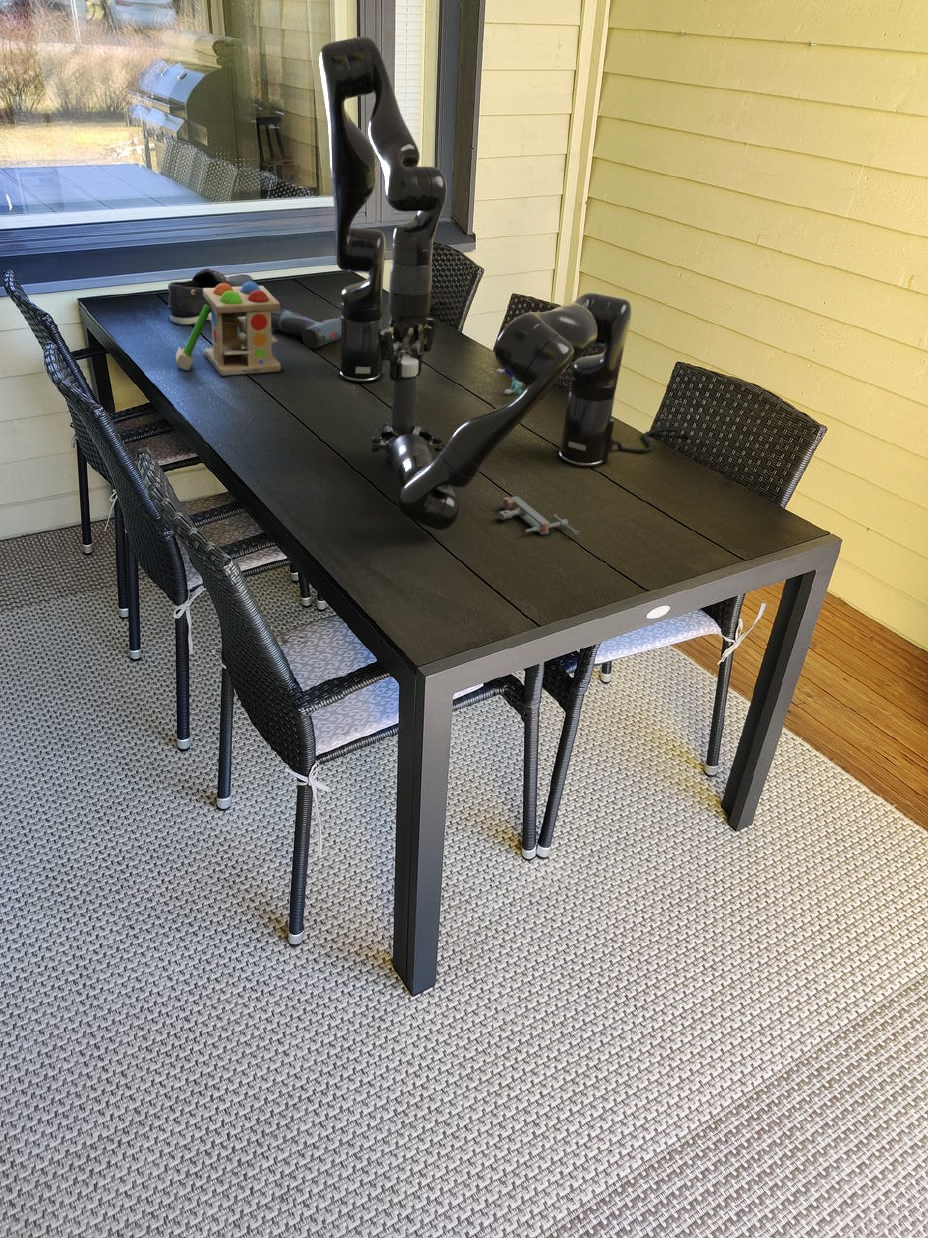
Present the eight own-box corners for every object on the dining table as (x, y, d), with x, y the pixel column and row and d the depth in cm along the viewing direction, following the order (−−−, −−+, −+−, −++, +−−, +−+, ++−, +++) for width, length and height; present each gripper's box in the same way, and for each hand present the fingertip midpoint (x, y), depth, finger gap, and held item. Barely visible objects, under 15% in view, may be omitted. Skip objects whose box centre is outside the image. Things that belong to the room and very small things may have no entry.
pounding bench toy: (183, 379, 220) (176, 299, 210) (169, 357, 231) (162, 280, 221) (282, 371, 230) (280, 294, 220) (264, 350, 240) (262, 276, 230)
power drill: (305, 316, 264) (364, 334, 256) (257, 332, 251) (318, 351, 243) (305, 296, 261) (365, 314, 253) (257, 311, 248) (318, 330, 240)
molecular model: (542, 396, 221) (528, 352, 219) (504, 410, 224) (490, 367, 223) (554, 394, 231) (541, 353, 230) (517, 407, 235) (504, 367, 233)
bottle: (387, 456, 197) (392, 361, 186) (408, 455, 198) (414, 361, 187) (391, 465, 194) (396, 369, 183) (412, 464, 195) (418, 369, 184)
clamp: (489, 500, 180) (534, 491, 184) (488, 510, 181) (533, 501, 185) (534, 538, 169) (581, 528, 174) (532, 549, 170) (579, 539, 175)
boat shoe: (275, 303, 273) (273, 264, 267) (188, 326, 249) (184, 284, 244) (241, 294, 279) (238, 256, 273) (152, 317, 255) (147, 276, 249)
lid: (392, 376, 183) (393, 363, 182) (392, 367, 187) (392, 354, 186) (418, 377, 184) (419, 365, 182) (417, 368, 188) (418, 356, 186)
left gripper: (422, 275, 183) (416, 364, 193) (367, 287, 174) (364, 380, 183) (452, 285, 179) (444, 375, 189) (397, 298, 170) (392, 392, 179)
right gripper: (452, 443, 180) (436, 406, 194) (375, 443, 177) (364, 406, 191) (449, 480, 184) (433, 441, 198) (374, 480, 181) (363, 441, 195)
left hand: (405, 377), depth 186 cm, fingers closed on lid, 4 cm apart
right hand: (399, 424), depth 194 cm, fingers closed on bottle, 4 cm apart
